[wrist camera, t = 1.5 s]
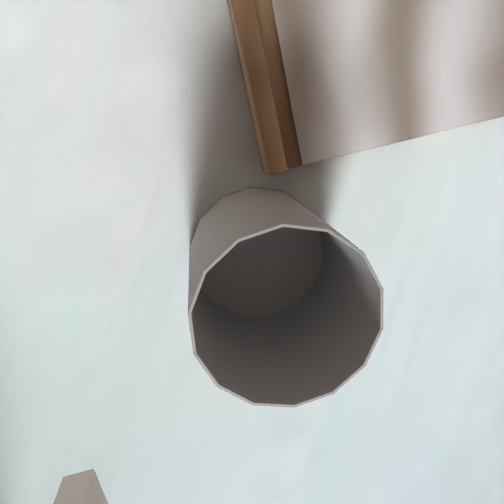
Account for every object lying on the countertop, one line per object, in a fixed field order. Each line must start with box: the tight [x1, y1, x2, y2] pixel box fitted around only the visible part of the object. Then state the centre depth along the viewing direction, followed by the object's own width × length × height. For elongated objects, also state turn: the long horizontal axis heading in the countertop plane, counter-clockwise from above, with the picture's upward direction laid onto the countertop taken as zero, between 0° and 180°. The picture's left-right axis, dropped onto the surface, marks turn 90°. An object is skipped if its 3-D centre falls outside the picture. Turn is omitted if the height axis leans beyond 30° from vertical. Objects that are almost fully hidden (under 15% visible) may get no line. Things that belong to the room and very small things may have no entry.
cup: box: [188, 187, 383, 407], centre depth 24 cm, size 8×8×10 cm
